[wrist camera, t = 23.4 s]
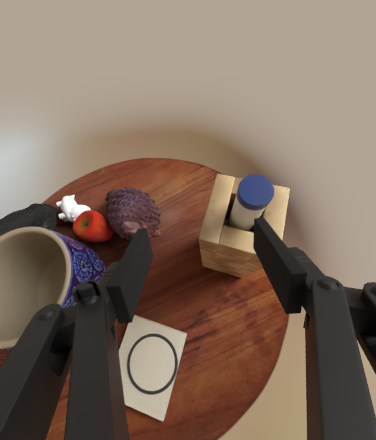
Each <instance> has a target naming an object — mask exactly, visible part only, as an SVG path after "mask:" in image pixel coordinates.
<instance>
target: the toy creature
mask: <svg viewBox="0 0 376 440" xmlns="http://www.w3.org/2000/svg"><path fill="white" fill-rule="evenodd" d="M74 196H75V195H72V196H65V197H64V198H63V199H62V201H60V202H57V203H56V204H57V206H58V207H60V208H61V210H62V213H61V214H59V218H60V219H63V221H64V222H67V221H70V222H75V220H76V219H77V217H78V216H79V215H80V214H81V213H82V212H84V211H89V210H91V209H90V208H89V207H88V206H85V205H77V203H76V201H75V200H74Z"/></svg>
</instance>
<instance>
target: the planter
mask: <svg viewBox="0 0 376 440" xmlns="http://www.w3.org/2000/svg"><path fill="white" fill-rule="evenodd" d="M105 270H106V266H105V264H104V262H103V260H102V259H101V257H100V256H99V255H98V254H97V253H96V252H95V251H94V250H93V249H91V248H90V247H88V246H86V245H85V244H83V243H81V242H79V241H77V240H75V239H72V238H70V237H68V236H65V235H63V234H60V233H58V232H55V231H53V230H49V229H46V228H43V227H34V226H31V227H22V228H18V229H15V230H12V231H10V232H7V233H5V234H3V235H2V236H0V350H1V349H9V348H13V347H14V346H15V344H16V343H17V341H18V340H19V338H20V336H21V335H22V333H23V332H24V330H25V328H26V327H27V325H28V324H29V322H30V320H31V319H32V317H33V316H34V315H35V314H36V312H38V311H39V310H40V309H41V308H43V307H45V306H47V305H50V304H55V303H57V304H60V305H61V307H62V309H64V308H67V307H71V306H74V305H77V304H76V302H75V300H74V298H73V296H72V290H73V289H74V288H75V287H76V286H77V285H78V284H80V283H82V282H84V281H87V280H96V281H99V280H100V278H102V275H103V273H104V272H105Z"/></svg>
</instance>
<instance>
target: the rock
mask: <svg viewBox="0 0 376 440" xmlns="http://www.w3.org/2000/svg"><path fill="white" fill-rule="evenodd" d="M57 213H58V210H57V209H56V208H55V207H54V206H51V205H47V204H32V205H30V206H29V207H28V208H25V209H23V210H19V211H16V212H13V213H11V214H9V215H7V216H5V217H4V218H2V219H1V220H0V236H2V235H3V234H5V233H7V232H10V231H12V230H15V229H18V228H22V227H31V226H34V227H43V228H46V229H49V230H54V229H55V226H56V215H57Z"/></svg>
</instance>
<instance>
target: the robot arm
mask: <svg viewBox="0 0 376 440" xmlns="http://www.w3.org/2000/svg"><path fill="white" fill-rule="evenodd" d="M253 248H254V250H255V252H256V254H257V256H258V258H259V260H260V262H261V264H262V266H263V268H264V270H265V272H266V274H267V276H268V278H269V281H270V283H271V285H272V287H273V289H274V291H275V293H276V295H277V297H278V299H279V301H280V303H281V305H282V307H283V309H284V311H285V313H286V314H293V313H301V307H302V306H303V308H304V309H305V311H306V316H305V321H304V328H305V338H306V391H307V392H306V398H307V440H376V417H375V413H374V409H373V405H372V400H371V396H370V393H369V388H368V384H367V380H366V376H365V372H364V368H363V364H362V360H361V355H360V352H359V347H358V343H357V340H358V342H359V344H360V346H361V348H362V349H363V351H364V353H365V355H366V357H367V359H368V361H369V362H370V364H371V366H372V368H373V370H374V372H375V374H376V283H374V282H372V283H366V284H365V285H364V287H363V290H361V289H355V288H348V287H343V285H342V284H341V283H340V282H339V281H338V280H336V279H334V278H331V277H328V276H325V275H324V274H323V273H322V272H321V271H320V270H319V268H318V267H317V266H316V265H315V264H314V263H313V262H312V261H311V260H310V258H308V256H307V255H306V254H305V253H304V252H303V251H302V250H300V249H298V248H297V247H294V248H287V246H286V245H285V244H284V243H283V242H282V240H281V239H280V237H279V236H278V235H277V234H276V232H275V231H274V230H273V228H272V227H271V226H270V225H269V223H268V222H267V221H266V220H265V218H255V219H254V242H253ZM152 257H153V254H152V249H151V245H150V240H149V236H148V231H147V228H141V229H137V231H136V233H135V235H134V237H133V238H132V240H131V242H130V244H129V246H128V247H127V249H126V251H125V253H124V255H123V257H122V258H121V260H120V261H119V262H113V263H111V264H110V265H109V266H108V267H107V268H106V270H105V272H104V273H103V275H102V278H100V280H99V281H96V280H87V281H84V282H82V283H80V284H78V285H77V286H76V287H75V288H74V289H73V290H72V296H73V298H74V300H75V302H76V304H77V305H74V306H71V307H67V308H64V309H62V307H61V305H60V304H57V303H55V304H50V305H47V306H45V307H43V308H41V309H40V310H39V311H38V312H36V314H35V315H34V316H33V317H32V319H31V320H30V322H29V324H28V325H27V327H26V328H25V330H24V332H23V333H22V335H21V336H20V338H19V340H18V341H17V343H16V344H15V346H14V347H13V349H12V351H11V352H10V354H9V355H8V357H7V359H6V360H5V362H4V363H3V365H2V366H1V368H0V440H45V439H46V436H47V433H48V430H49V427H50V424H51V422H52V419H53V416H54V413H55V410H56V407H57V404H58V401H59V398H60V395H61V392H62V389H63V386H64V383H65V380H66V377H67V374H68V371H69V368H70V365H71V372H70V382H69V393H68V403H67V414H66V424H65V435H64V440H129V434H128V425H127V417H126V409H125V401H124V393H123V385H122V377H121V368H120V360H119V352H118V344H117V336H116V328H115V325H114V321H115V319H116V317H117V319H118V322H119V323H132V321H133V318H134V314H135V311H136V308H137V305H138V302H139V298H140V295H141V292H142V289H143V286H144V283H145V279H146V276H147V273H148V270H149V267H150V264H151V260H152ZM356 338H357V339H356Z"/></svg>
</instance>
